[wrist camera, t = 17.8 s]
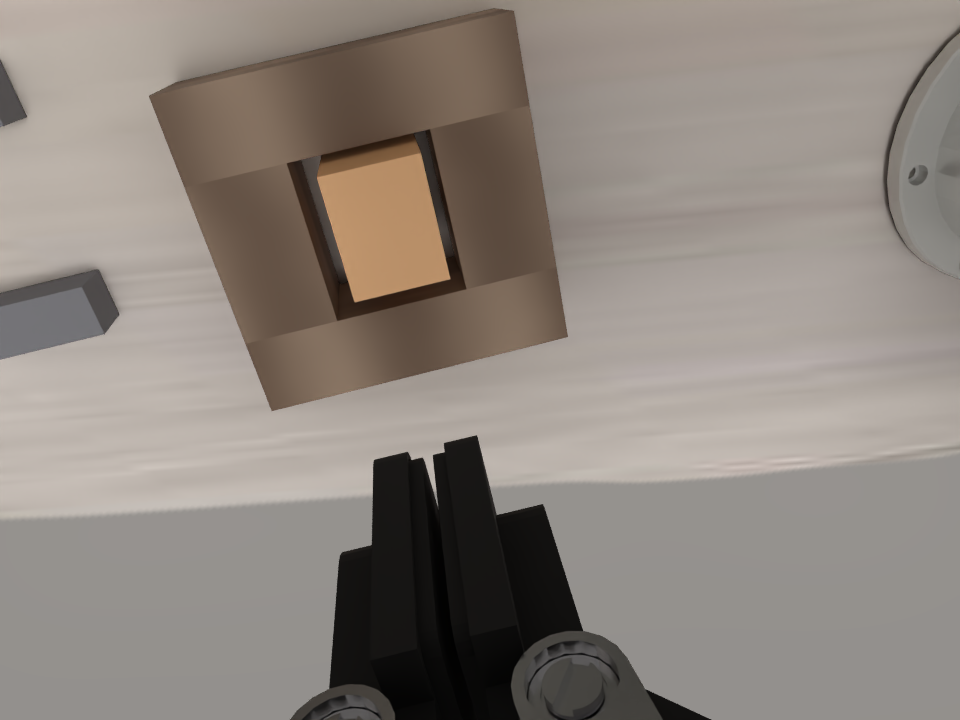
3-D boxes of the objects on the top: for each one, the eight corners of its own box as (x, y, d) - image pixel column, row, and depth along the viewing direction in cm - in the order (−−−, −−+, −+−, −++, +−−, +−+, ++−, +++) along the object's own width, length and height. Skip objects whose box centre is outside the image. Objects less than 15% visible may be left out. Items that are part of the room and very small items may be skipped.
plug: (409, 123, 29) (420, 153, 24) (434, 230, 31) (450, 279, 26) (324, 143, 29) (316, 177, 24) (355, 249, 31) (354, 302, 26)
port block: (494, 8, 28) (513, 10, 24) (545, 300, 33) (567, 336, 30) (175, 82, 27) (148, 96, 24) (281, 365, 33) (271, 411, 29)
